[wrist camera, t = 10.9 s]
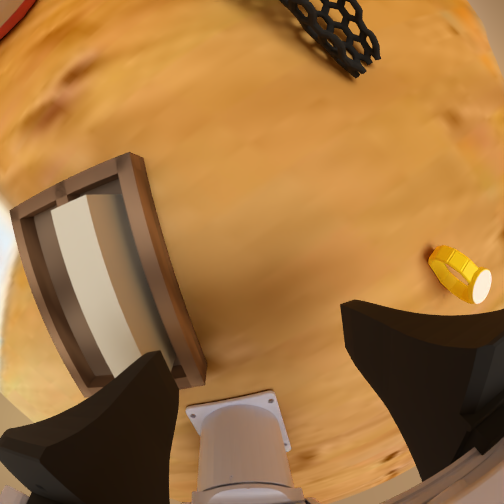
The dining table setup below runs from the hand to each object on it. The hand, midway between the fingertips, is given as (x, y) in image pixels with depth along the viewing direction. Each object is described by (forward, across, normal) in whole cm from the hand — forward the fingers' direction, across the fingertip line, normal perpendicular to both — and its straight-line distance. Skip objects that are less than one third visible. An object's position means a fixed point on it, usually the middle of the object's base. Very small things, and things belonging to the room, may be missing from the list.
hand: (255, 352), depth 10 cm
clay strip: (+8, +8, -2) cm, 11 cm away
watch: (+10, -17, +4) cm, 20 cm away
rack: (+9, +10, -2) cm, 14 cm away
